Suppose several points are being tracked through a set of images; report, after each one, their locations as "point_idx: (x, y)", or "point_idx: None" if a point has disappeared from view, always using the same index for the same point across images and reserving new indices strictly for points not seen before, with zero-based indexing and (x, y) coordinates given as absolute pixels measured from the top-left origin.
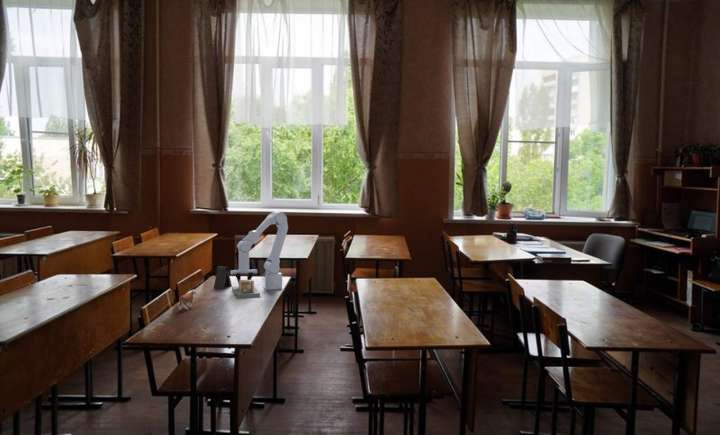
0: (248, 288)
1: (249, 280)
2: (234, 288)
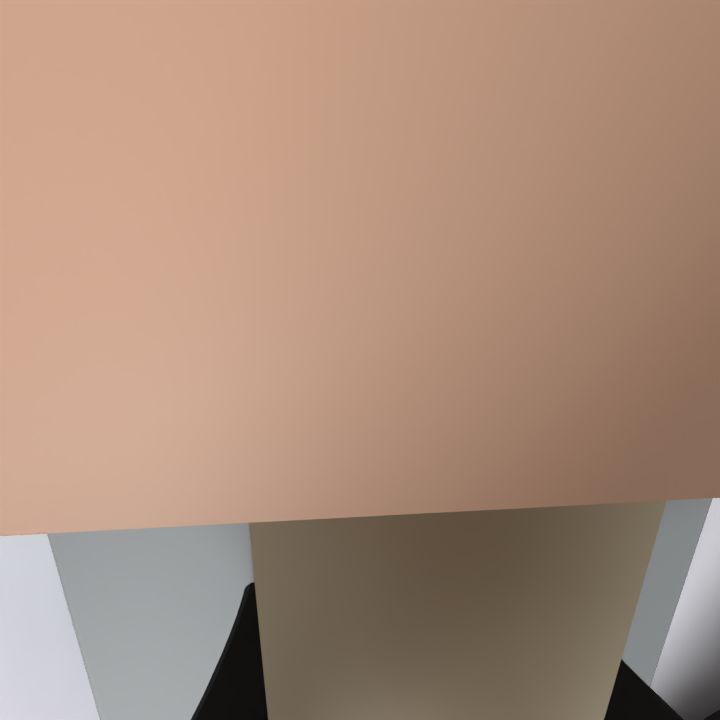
0: None
1: (254, 296)
2: (679, 511)
